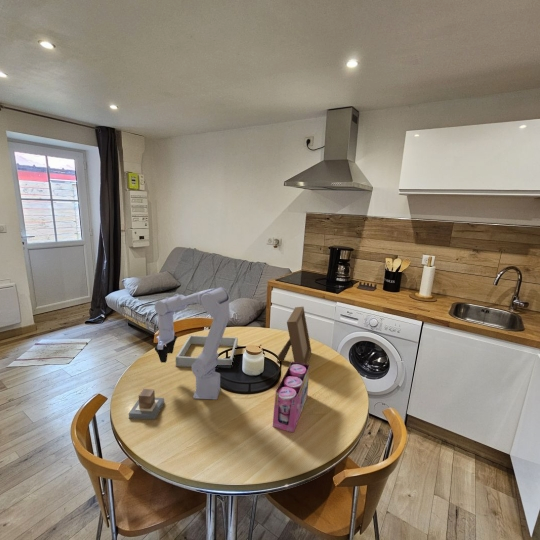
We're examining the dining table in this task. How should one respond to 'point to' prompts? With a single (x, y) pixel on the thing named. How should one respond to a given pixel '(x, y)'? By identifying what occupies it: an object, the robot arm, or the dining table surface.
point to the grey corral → (201, 340)
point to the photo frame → (297, 338)
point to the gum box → (291, 396)
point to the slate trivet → (146, 410)
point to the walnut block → (146, 398)
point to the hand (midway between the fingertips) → (166, 357)
